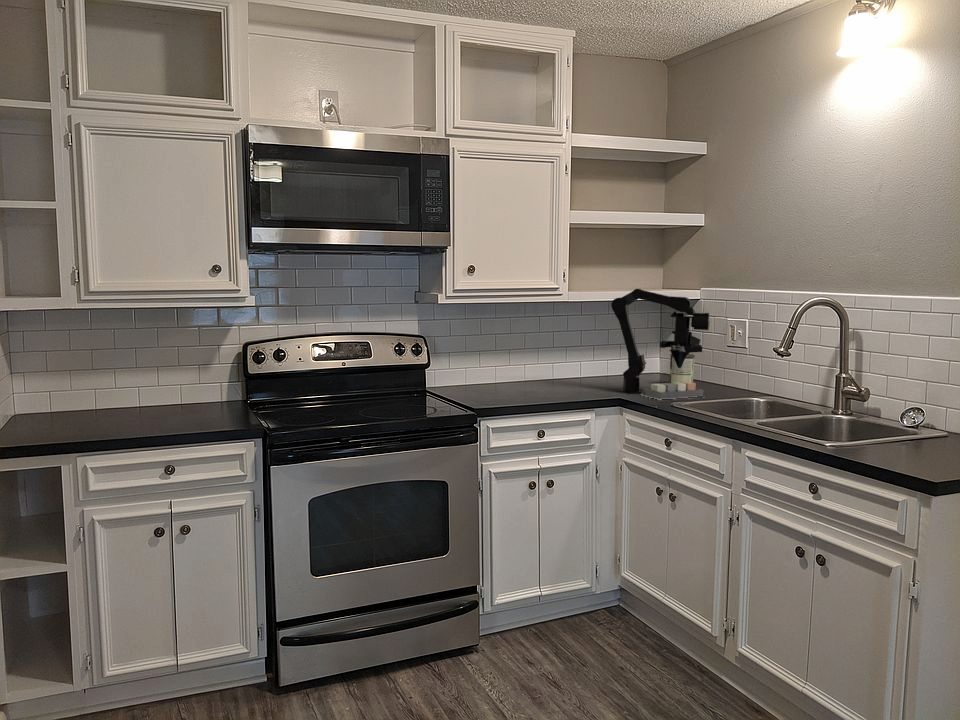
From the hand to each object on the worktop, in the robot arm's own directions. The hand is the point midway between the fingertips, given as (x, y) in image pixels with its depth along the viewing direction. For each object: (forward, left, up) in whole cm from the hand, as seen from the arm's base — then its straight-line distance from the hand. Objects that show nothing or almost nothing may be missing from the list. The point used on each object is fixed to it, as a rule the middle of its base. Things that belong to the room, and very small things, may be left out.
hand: (679, 367), depth 313 cm
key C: (0, 0, -9) cm, 9 cm away
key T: (0, +5, -9) cm, 11 cm away
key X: (0, -5, -9) cm, 11 cm away
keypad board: (0, -3, -12) cm, 12 cm away
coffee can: (-20, +19, -12) cm, 30 cm away
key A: (0, -10, -9) cm, 14 cm away
